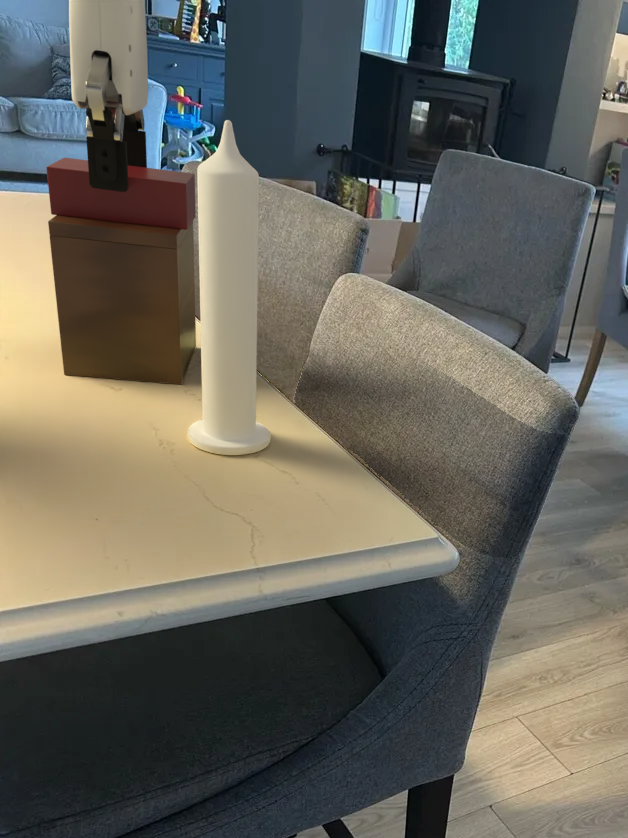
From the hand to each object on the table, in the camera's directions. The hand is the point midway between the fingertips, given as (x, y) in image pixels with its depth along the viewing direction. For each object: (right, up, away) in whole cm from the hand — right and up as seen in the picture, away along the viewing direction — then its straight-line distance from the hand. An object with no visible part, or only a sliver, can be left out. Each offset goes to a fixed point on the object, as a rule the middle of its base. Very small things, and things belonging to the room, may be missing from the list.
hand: (120, 181), depth 82 cm
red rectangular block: (0, -2, +2) cm, 3 cm away
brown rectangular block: (-2, -14, +9) cm, 17 cm away
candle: (+11, -25, -4) cm, 28 cm away
